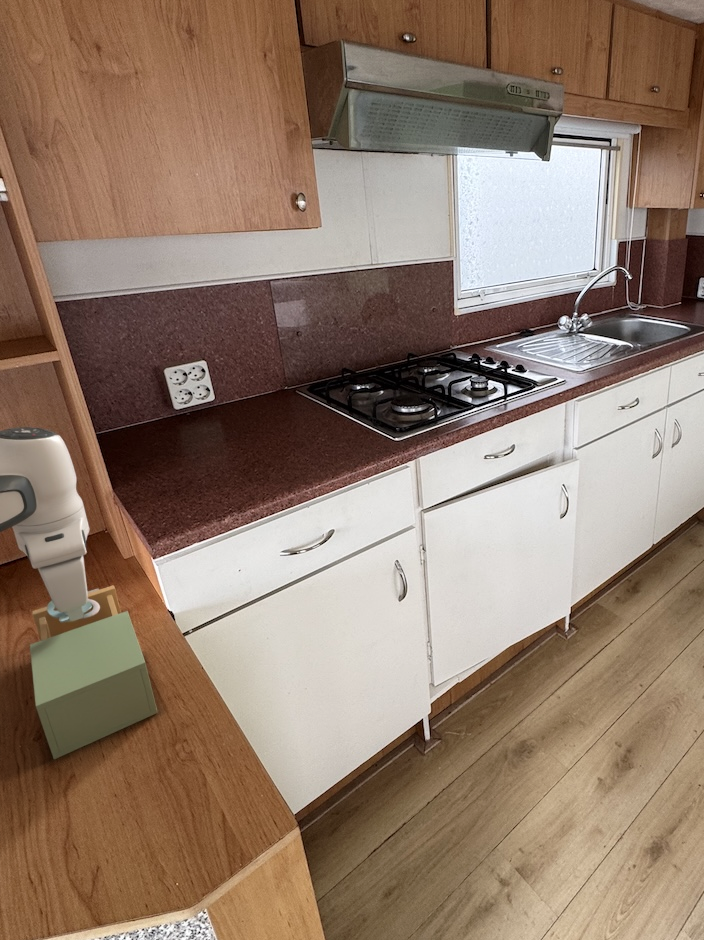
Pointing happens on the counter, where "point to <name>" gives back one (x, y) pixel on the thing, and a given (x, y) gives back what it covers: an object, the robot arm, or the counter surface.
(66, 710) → the cabinet
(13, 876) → the counter surface
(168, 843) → the counter surface
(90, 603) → the pacifier
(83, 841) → the counter surface
